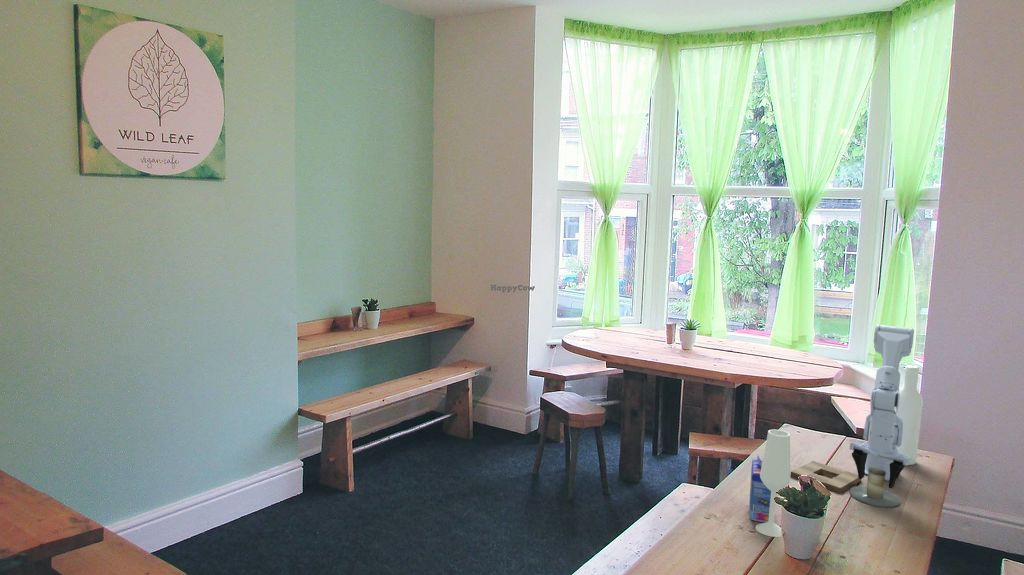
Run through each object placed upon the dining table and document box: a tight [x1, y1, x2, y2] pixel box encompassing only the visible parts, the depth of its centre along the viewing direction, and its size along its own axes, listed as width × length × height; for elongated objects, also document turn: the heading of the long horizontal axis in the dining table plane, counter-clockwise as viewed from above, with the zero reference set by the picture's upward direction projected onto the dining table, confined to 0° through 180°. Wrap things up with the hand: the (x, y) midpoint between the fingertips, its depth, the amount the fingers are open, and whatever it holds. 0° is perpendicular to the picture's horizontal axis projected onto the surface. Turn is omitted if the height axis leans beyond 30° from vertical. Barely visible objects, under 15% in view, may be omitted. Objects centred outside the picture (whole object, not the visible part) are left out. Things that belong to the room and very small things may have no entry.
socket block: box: [790, 460, 862, 494], centre depth 194 cm, size 14×14×2 cm
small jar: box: [866, 467, 886, 498], centre depth 182 cm, size 4×4×7 cm
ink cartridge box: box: [748, 455, 771, 523], centre depth 169 cm, size 10×6×14 cm, turn 161°
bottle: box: [894, 364, 924, 466], centre depth 209 cm, size 8×8×30 cm
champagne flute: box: [755, 429, 791, 538], centre depth 160 cm, size 7×7×24 cm
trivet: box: [849, 485, 901, 508], centre depth 182 cm, size 12×12×1 cm
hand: (876, 482), depth 182 cm, fingers open, 7 cm apart
